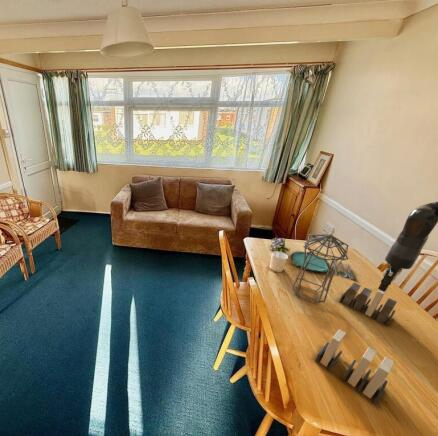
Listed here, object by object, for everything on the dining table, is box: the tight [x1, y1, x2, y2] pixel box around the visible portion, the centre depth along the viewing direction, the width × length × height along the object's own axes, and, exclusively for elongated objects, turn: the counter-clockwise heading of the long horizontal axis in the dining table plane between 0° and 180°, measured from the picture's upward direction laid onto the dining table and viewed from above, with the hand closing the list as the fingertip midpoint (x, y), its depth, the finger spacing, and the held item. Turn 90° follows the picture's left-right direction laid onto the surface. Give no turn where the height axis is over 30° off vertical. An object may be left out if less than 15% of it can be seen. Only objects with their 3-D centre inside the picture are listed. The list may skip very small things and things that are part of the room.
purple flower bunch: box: [270, 237, 291, 254], centre depth 147 cm, size 11×11×12 cm
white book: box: [364, 288, 388, 318], centre depth 99 cm, size 2×6×13 cm, turn 125°
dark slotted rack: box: [314, 328, 395, 405], centre depth 76 cm, size 17×8×14 cm, turn 35°
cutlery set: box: [290, 250, 354, 281], centre depth 134 cm, size 20×30×2 cm, turn 58°
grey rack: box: [338, 282, 398, 327], centre depth 102 cm, size 17×8×10 cm, turn 35°
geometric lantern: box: [291, 233, 349, 304], centre depth 105 cm, size 16×16×35 cm
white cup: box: [269, 250, 289, 273], centre depth 129 cm, size 8×8×10 cm
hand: (384, 286), depth 96 cm, fingers open, 8 cm apart
